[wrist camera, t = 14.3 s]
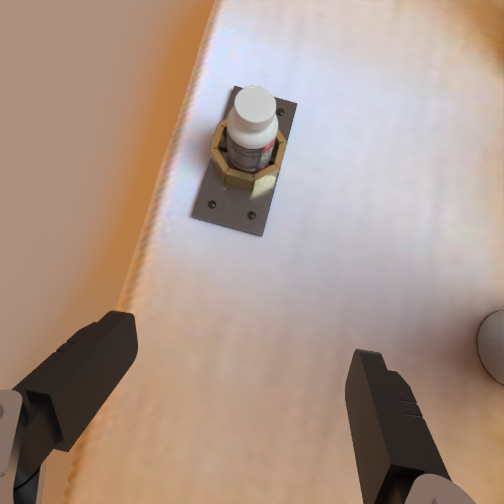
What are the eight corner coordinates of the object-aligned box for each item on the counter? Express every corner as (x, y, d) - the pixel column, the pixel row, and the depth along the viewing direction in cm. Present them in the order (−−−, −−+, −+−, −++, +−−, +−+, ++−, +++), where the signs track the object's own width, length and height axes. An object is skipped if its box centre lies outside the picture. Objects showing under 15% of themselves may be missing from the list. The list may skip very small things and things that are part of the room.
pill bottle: (267, 180, 35) (280, 133, 25) (224, 174, 35) (222, 124, 25) (271, 142, 36) (286, 83, 27) (230, 136, 36) (230, 74, 26)
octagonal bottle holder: (234, 90, 38) (234, 70, 35) (296, 107, 38) (301, 89, 35) (193, 217, 34) (189, 208, 31) (261, 236, 34) (265, 229, 31)
